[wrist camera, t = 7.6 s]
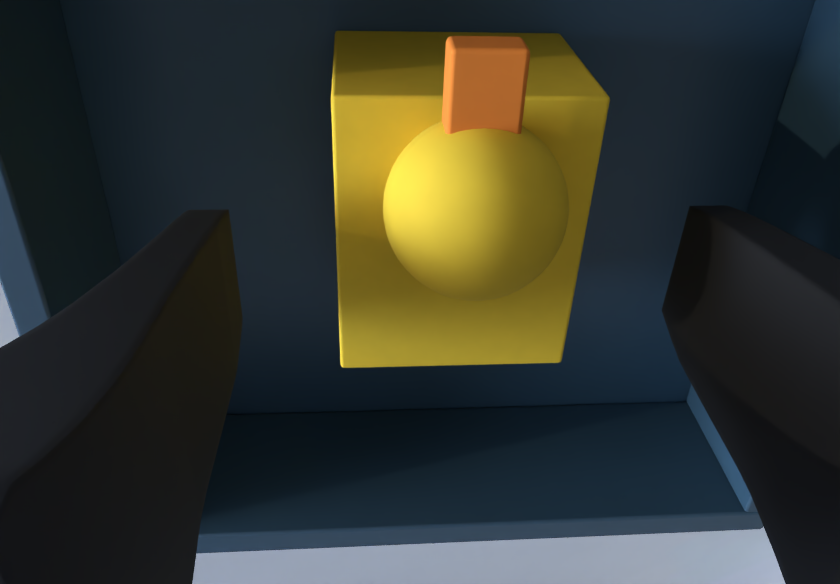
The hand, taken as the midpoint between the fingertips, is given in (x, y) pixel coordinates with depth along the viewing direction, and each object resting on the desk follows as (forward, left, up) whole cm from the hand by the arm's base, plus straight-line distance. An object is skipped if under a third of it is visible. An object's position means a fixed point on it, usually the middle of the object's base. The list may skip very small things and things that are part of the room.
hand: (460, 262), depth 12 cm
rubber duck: (0, 0, -3) cm, 3 cm away
